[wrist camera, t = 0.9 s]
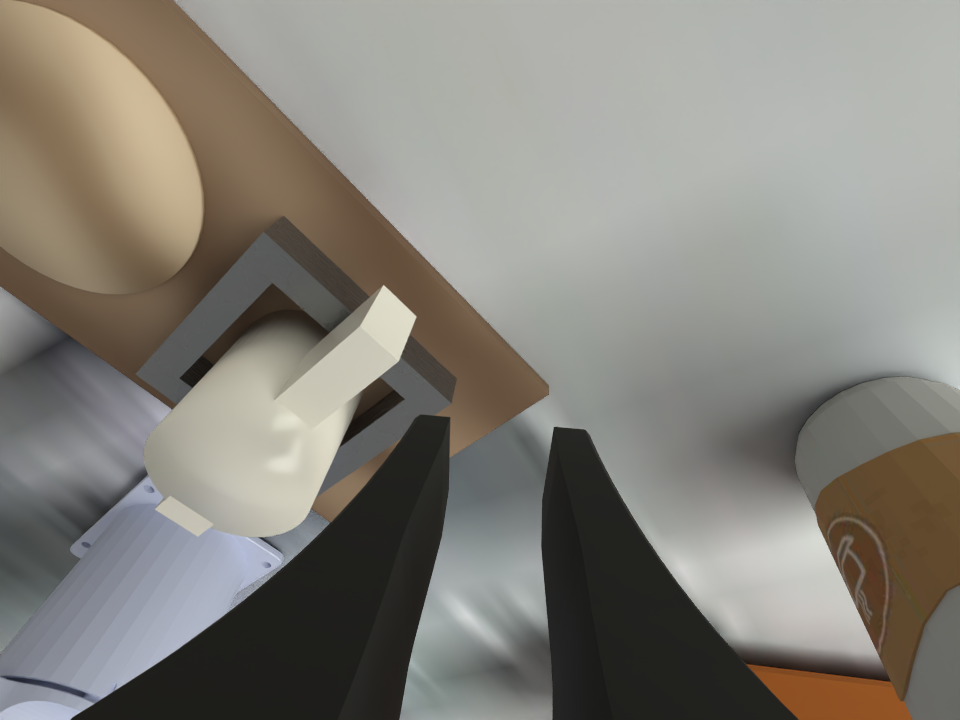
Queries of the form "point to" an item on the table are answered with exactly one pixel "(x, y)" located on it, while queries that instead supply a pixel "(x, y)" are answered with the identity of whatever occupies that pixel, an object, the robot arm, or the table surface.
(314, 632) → the robot arm
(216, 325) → the socket
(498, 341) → the board
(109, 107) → the coaster
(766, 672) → the orange toaster
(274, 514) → the cream tapered cylinder
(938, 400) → the coffee cup
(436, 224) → the table surface
